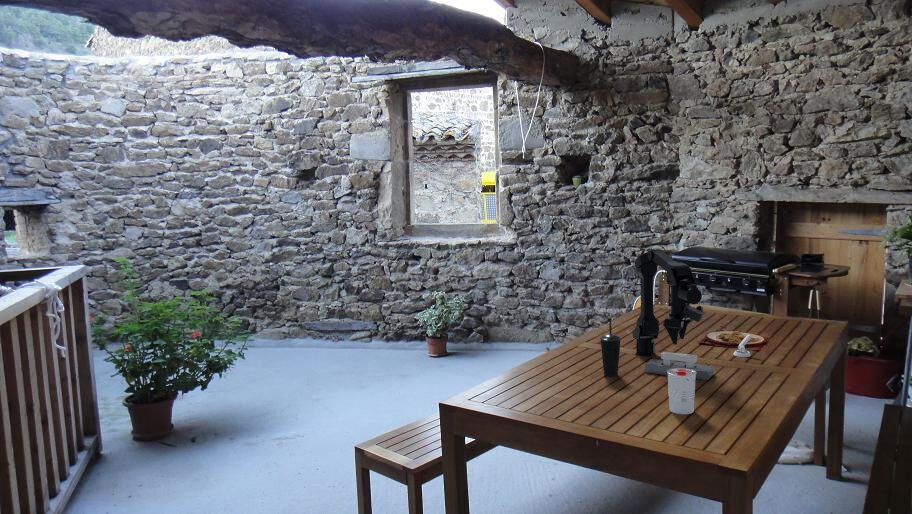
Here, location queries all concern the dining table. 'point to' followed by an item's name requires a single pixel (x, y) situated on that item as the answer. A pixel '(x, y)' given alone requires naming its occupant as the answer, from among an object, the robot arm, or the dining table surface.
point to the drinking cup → (610, 352)
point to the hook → (743, 348)
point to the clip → (679, 358)
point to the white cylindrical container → (681, 390)
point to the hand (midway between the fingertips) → (678, 341)
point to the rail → (658, 367)
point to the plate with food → (733, 339)
